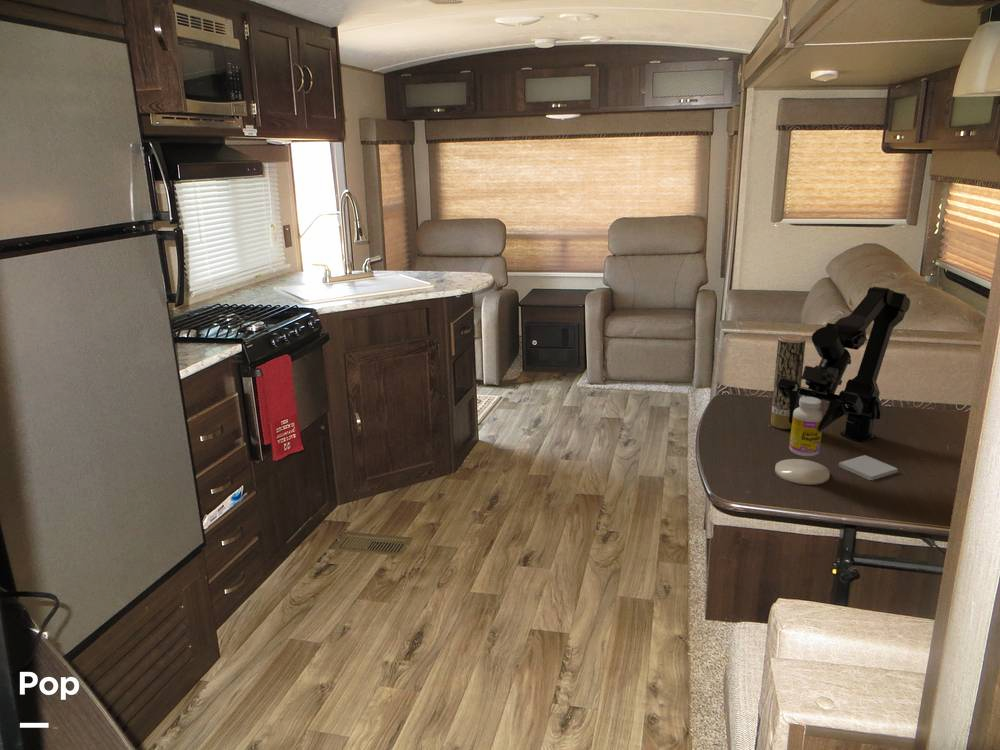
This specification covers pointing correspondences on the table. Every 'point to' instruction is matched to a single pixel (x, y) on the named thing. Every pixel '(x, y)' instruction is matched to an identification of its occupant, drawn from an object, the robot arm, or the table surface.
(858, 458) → the square tile
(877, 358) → the robot arm
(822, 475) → the round coaster
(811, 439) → the supplement bottle
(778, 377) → the paper tube
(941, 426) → the table surface
